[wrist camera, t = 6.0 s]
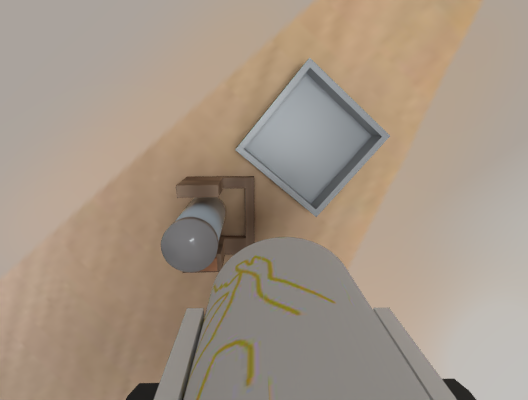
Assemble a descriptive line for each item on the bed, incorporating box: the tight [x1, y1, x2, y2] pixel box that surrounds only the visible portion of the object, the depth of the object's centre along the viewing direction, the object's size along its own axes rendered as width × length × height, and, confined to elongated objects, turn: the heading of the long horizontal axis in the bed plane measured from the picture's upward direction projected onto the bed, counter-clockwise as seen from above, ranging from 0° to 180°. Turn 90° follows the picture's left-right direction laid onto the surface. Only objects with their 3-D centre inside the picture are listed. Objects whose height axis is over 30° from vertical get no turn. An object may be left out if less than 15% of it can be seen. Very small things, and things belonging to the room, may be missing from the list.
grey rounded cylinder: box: [161, 197, 226, 272], centre depth 28 cm, size 5×5×10 cm
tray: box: [235, 58, 390, 217], centre depth 30 cm, size 11×11×3 cm
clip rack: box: [176, 176, 254, 273], centre depth 33 cm, size 8×28×5 cm, turn 0°
